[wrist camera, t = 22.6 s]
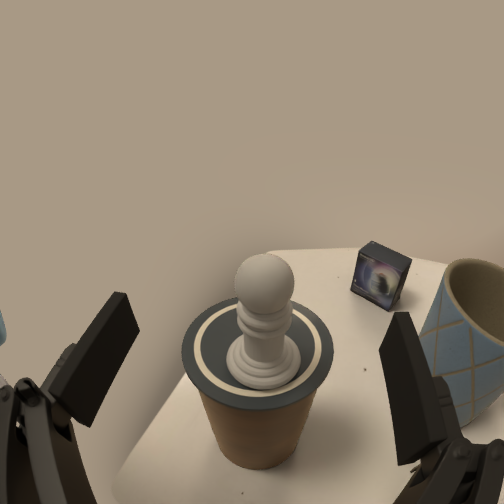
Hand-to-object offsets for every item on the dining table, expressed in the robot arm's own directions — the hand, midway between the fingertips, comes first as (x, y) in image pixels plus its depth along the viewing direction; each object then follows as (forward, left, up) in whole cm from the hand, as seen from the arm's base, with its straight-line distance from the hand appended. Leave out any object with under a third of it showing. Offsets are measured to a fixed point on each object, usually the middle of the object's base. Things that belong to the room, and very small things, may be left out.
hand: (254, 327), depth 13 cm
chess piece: (+1, +3, -7) cm, 8 cm away
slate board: (+1, +5, -8) cm, 9 cm away
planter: (+32, +2, -28) cm, 43 cm away
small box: (+32, +29, -28) cm, 51 cm away
